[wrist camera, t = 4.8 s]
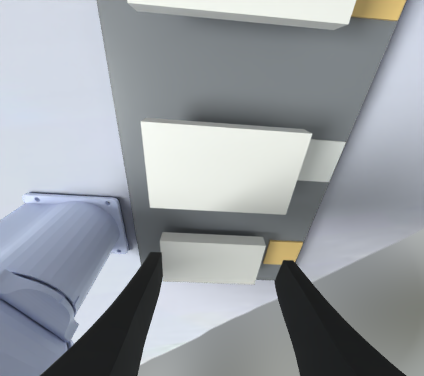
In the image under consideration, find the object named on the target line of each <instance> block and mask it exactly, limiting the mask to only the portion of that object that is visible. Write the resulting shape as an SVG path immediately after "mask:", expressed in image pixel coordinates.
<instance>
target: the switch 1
mask: <svg viewBox="0 0 424 376" xmlns="http://www.w3.org/2000/svg"><path fill="white" fill-rule="evenodd" d="M265 247H266V245H265V242H264V239H263V237H257V236H236V235H214V234H193V233H172V232H162V235H161V238H160V250H161V252H162V268H163V281H165V282H193V283H221V284H248V285H255V281H256V278H257V274H258V271H259V268H260V264H261V261H262V257H263V254H264V251H265Z"/></svg>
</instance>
